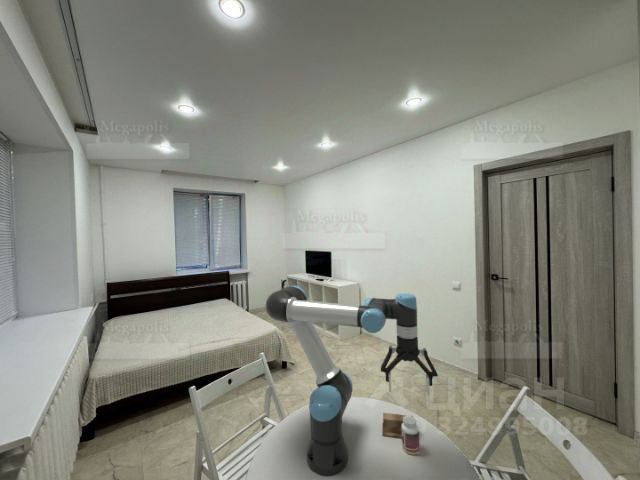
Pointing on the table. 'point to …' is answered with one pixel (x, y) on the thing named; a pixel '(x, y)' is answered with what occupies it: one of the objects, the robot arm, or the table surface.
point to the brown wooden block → (392, 425)
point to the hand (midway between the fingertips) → (408, 391)
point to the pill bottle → (410, 435)
